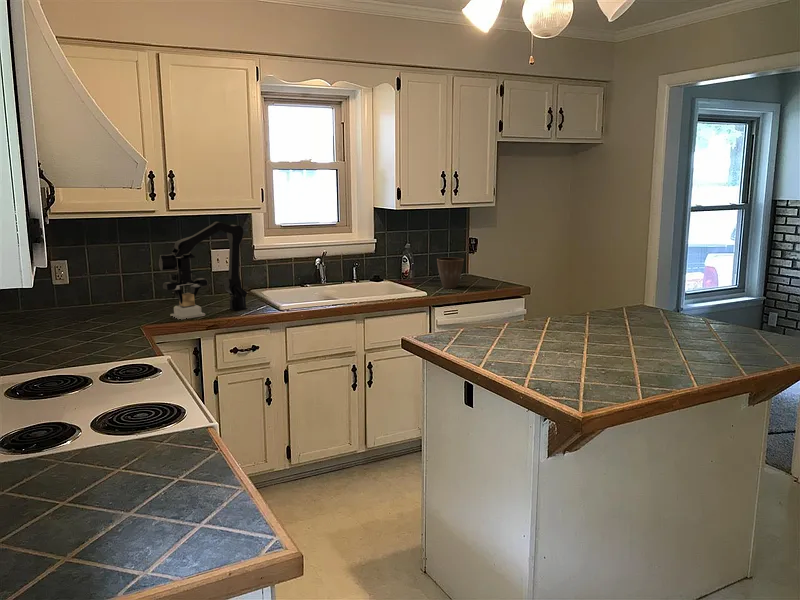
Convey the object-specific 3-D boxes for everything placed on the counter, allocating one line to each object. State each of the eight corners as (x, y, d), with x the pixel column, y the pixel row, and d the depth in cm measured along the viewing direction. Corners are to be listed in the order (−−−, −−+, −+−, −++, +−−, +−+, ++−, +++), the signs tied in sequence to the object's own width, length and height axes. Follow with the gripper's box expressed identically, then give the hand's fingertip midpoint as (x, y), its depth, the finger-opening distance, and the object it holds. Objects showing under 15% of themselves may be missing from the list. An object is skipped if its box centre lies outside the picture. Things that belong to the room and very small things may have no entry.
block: (190, 303, 292) (189, 292, 291) (194, 305, 288) (194, 294, 287) (179, 305, 289) (178, 294, 288) (184, 306, 285) (183, 295, 284)
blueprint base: (196, 312, 297) (195, 302, 296) (205, 315, 290) (204, 305, 289) (170, 316, 289) (169, 306, 288) (179, 319, 282) (178, 309, 281)
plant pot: (450, 284, 366) (451, 256, 363) (469, 287, 355) (469, 258, 352) (431, 287, 357) (431, 258, 354) (449, 290, 346) (449, 261, 343)
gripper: (196, 264, 297) (199, 297, 300) (156, 268, 285) (159, 303, 288) (207, 267, 289) (209, 301, 292) (166, 271, 277) (169, 306, 280)
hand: (187, 302), depth 288 cm, fingers closed on block, 5 cm apart
